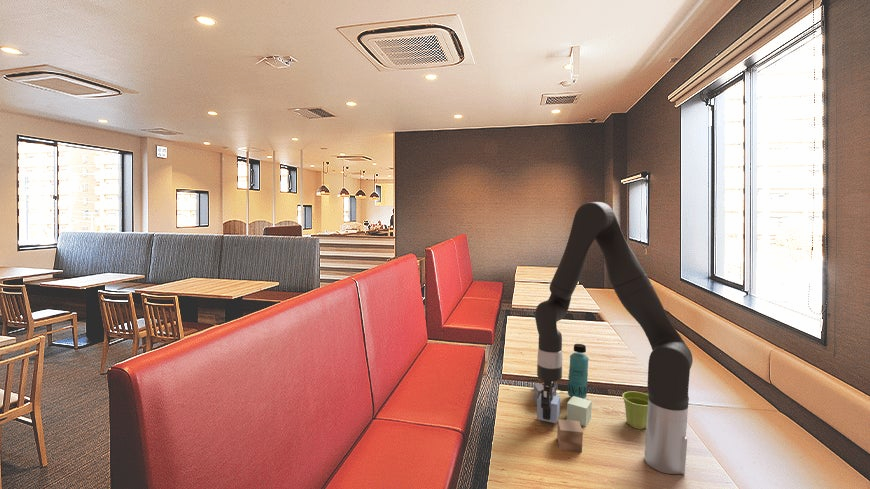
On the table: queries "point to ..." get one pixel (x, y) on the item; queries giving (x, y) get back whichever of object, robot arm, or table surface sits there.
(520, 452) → the table surface
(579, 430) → the walnut block
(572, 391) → the beverage bottle
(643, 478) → the table surface
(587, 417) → the sage block
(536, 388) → the charcoal block
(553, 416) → the slate blue block
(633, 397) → the plant pot
